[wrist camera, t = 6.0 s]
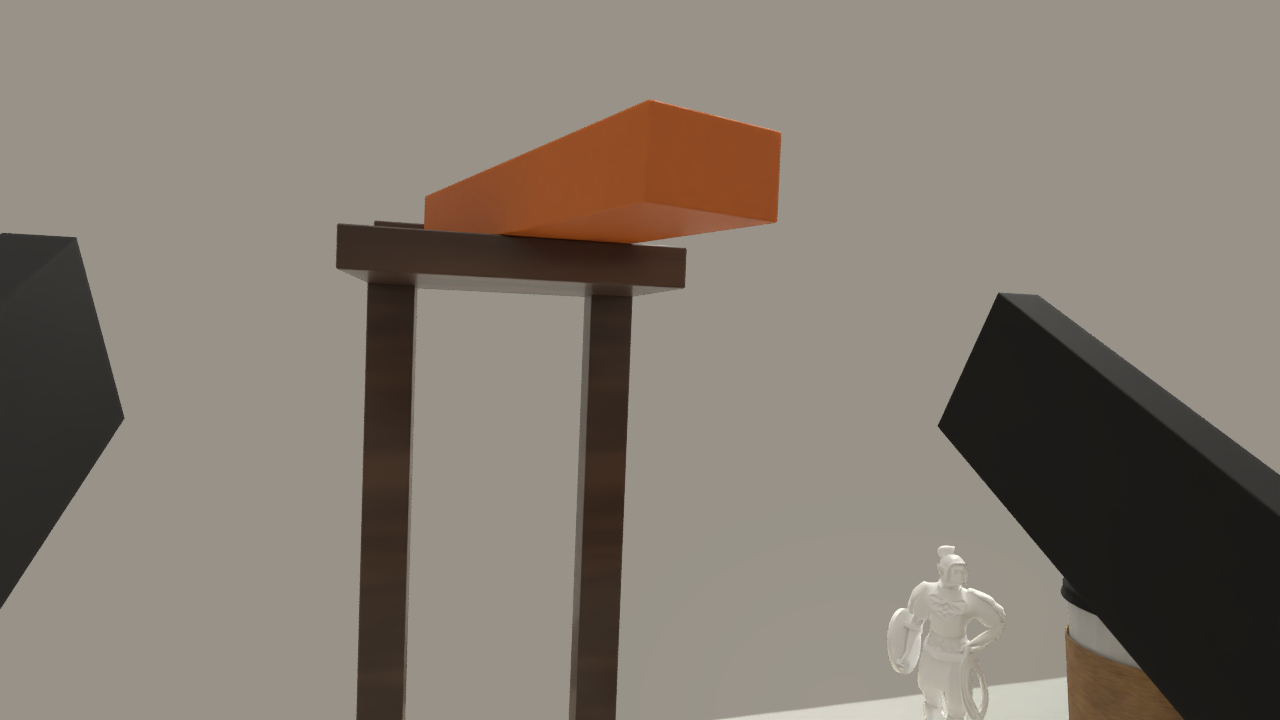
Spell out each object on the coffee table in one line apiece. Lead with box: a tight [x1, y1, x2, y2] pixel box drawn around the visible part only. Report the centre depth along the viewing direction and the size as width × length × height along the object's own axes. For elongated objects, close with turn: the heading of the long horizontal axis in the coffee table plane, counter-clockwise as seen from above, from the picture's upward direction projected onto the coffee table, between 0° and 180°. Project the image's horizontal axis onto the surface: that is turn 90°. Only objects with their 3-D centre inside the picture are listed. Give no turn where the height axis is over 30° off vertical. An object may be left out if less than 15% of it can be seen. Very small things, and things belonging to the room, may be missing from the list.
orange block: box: [424, 99, 781, 244], centre depth 27 cm, size 18×4×2 cm, turn 33°
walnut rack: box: [336, 221, 686, 720], centre depth 31 cm, size 11×12×32 cm
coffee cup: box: [1061, 577, 1184, 720], centre depth 42 cm, size 8×8×15 cm
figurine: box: [887, 546, 1006, 720], centre depth 44 cm, size 9×9×15 cm
